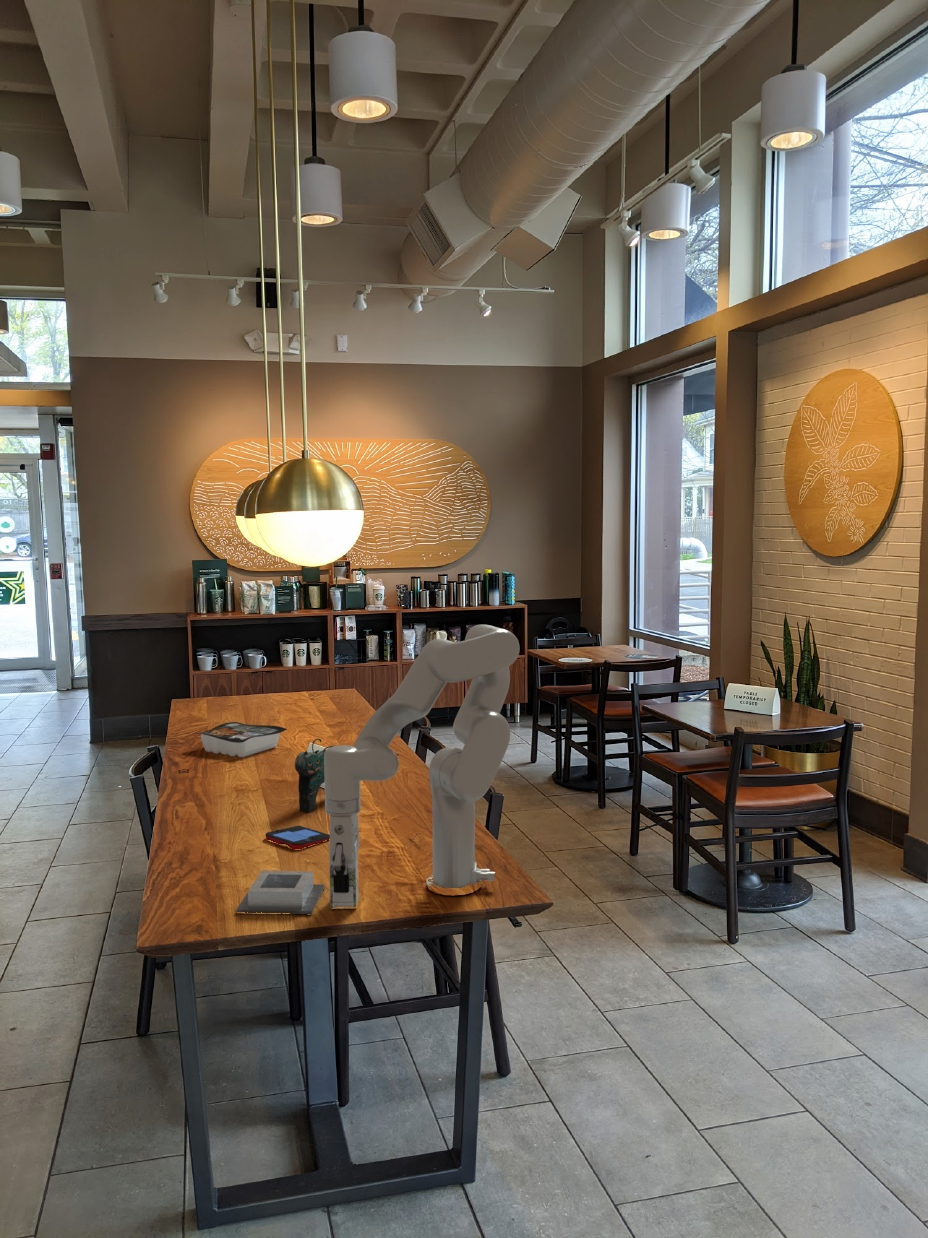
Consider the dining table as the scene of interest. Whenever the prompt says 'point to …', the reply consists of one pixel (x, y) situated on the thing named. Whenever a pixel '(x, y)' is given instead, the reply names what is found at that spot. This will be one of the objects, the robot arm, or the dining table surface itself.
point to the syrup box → (352, 896)
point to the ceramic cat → (310, 777)
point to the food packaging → (240, 738)
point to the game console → (297, 837)
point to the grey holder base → (282, 893)
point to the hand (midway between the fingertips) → (344, 885)
